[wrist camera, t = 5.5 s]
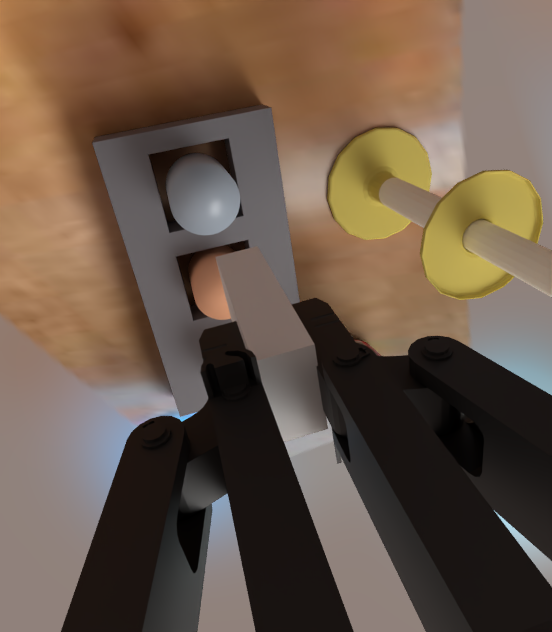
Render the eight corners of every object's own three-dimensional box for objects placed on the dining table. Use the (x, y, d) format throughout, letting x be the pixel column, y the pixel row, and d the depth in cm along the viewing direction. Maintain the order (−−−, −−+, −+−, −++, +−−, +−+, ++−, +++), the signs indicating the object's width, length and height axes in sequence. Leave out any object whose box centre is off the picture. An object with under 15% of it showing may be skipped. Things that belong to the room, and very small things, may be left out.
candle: (319, 141, 41) (709, 309, 13) (429, 114, 43) (993, 217, 15) (333, 251, 46) (640, 544, 18) (431, 224, 47) (858, 459, 19)
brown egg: (182, 251, 42) (187, 272, 38) (236, 238, 43) (248, 258, 38) (195, 300, 44) (201, 326, 40) (246, 287, 45) (258, 311, 41)
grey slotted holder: (95, 137, 37) (91, 142, 34) (262, 104, 39) (271, 107, 36) (177, 397, 49) (180, 416, 47) (302, 363, 51) (311, 379, 48)
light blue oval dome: (158, 160, 36) (161, 173, 32) (221, 147, 37) (232, 158, 33) (174, 222, 39) (179, 242, 34) (233, 208, 39) (245, 226, 35)
